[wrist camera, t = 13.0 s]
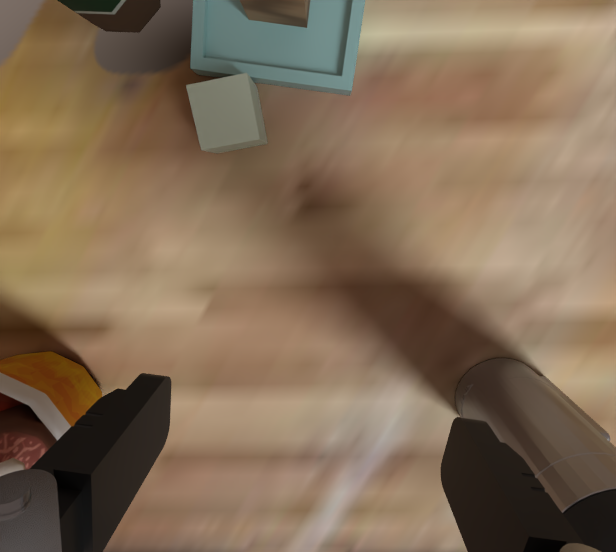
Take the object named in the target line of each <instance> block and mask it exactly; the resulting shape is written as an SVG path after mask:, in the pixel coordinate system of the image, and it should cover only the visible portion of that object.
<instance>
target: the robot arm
mask: <svg viewBox="0 0 616 552" xmlns="http://www.w3.org/2000/svg"><path fill="white" fill-rule="evenodd" d="M455 401H456V407H457V410H458V413H459V414H460V416H461V418H460V417H457V418H455V419H454V421H453V423H452V426H451V430H450V434H449V437H448V441H447V445H446V448H445V452H444V455H443V459H442V463H441V481H442V486H443V489H444V492H445V494H446V497H447V499H448V502H449V504H450V507H451V510H452V512H453V515H454V517H455V520H456V523H457V525H458V528H459V530H460V533H461V535H462V538H463V541H464V543H465V546H466V548H467V551H468V552H616V447H615V446H614V445H613V444H612V443H610V436H609V434H608V433H607V432H606V431H605V430H604V429H603V428H602V427H601V426H600V425H599V424H598V423H596V422H595V421H594V420H593V419H592V418H591V417H590V416H589V415H588V414H586V413H585V412H584V411H583V410H582V409H581V408H580V407H579V406H578V405H576V404H575V403H574V402H573V401H572V400H571V399H570V398H569V397H568V396H566V395H565V394H564V393H563V392H562V391H561V390H560V389H559V388H558V387H556V386H555V385H554V384H553V383H552V382H551V381H550V380H549V379H548V378H546V377H545V376H539V375H537V374H536V373H535V372H534V371H533V370H532V369H531V368H530V367H528V366H527V365H525V364H524V363H522V362H519V361H517V360H514V359H507V358H497V359H492V360H487V361H485V362H482V363H480V364H478V365H476V366H475V367H473V368H472V369H470V370H469V371H468V372H467V373H466V374H465V375H464V376H463V378H462V379H461V381H460V382H459V385H458V387H457V390H456V396H455ZM170 405H171V379H170V377H167V376H160V375H153V374H146V373H142V374H140V375H139V376H138V377H137V378H136V379H135V380H134V381H133V382H132V384H131V385H130V386H129V387H128V388H127V389H126V390H123V389H116V390H114V391H113V392H111V393H109V394H107V395H105V396H103V397H101V398H100V399H98V400H97V401H96V402H95V403H94V404H93V405H92V406H91V407H90V408H89V409H88V410H87V411H86V414H85V415H82V416H81V417H80V418H79V419H78V420H77V421H76V422H75V425H74V426H71V427H70V428H69V429H68V430H67V431H66V432H65V433H64V434H63V435H62V436H61V437H60V438H59V439H58V440H57V441H56V442H55V443H54V444H53V445H52V446H51V447H50V448H49V449H48V450H47V451H46V452H45V453H44V454H43V455H42V457H41V458H40V459H39V460H38V461H37V462H36V463H35V464H34V465H33V466H32V467H31V468H30V469H25V470H19V471H15V472H11V473H8V474H5V475H3V476H0V552H103V550H104V548H105V547H106V545H107V543H108V542H109V540H110V538H111V536H112V535H113V533H114V531H115V530H116V528H117V526H118V524H119V523H120V521H121V519H122V517H123V516H124V514H125V512H126V511H127V509H128V507H129V505H130V504H131V502H132V500H133V499H134V497H135V495H136V493H137V492H138V490H139V488H140V487H141V485H142V483H143V481H144V480H145V478H146V476H147V475H148V473H149V471H150V469H151V468H152V466H153V464H154V463H155V461H156V459H157V457H158V456H159V454H160V452H161V450H162V449H163V447H164V445H165V442H166V439H167V436H168V432H169V426H170Z"/></svg>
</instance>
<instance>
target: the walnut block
mask: <svg viewBox="0 0 616 552" xmlns="http://www.w3.org/2000/svg"><path fill="white" fill-rule="evenodd" d="M240 2H241V4H242V6H243V9H244V11H245V13H246V15H247V17H248V19H249V20H254V21H261V22H268V23H276V24H283V25H290V26H297V27H304V28H307V25H308V17H309V8H310V0H240Z"/></svg>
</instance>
